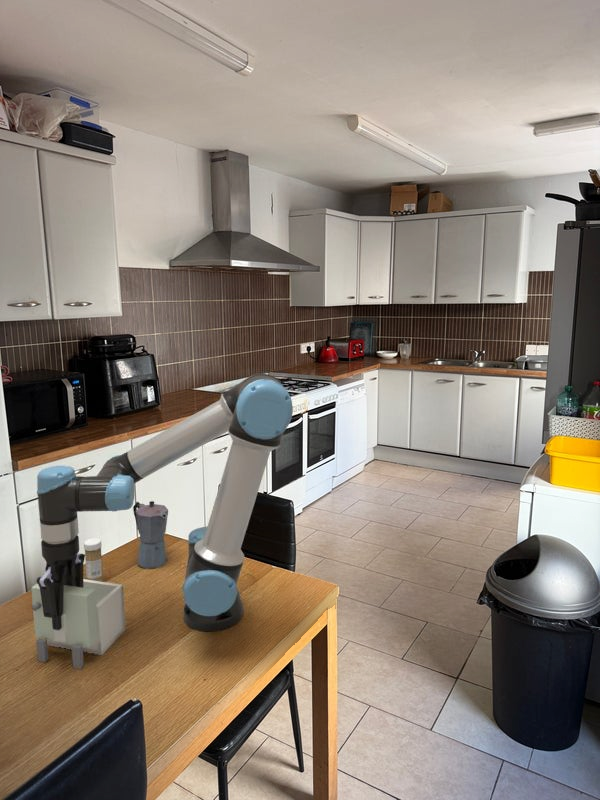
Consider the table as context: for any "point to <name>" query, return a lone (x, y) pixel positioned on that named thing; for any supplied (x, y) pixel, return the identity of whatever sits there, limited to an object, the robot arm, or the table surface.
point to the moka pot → (151, 534)
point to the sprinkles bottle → (93, 559)
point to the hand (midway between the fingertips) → (66, 635)
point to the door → (69, 615)
